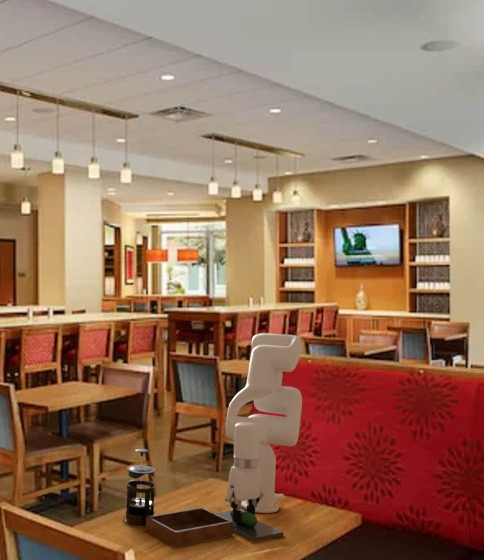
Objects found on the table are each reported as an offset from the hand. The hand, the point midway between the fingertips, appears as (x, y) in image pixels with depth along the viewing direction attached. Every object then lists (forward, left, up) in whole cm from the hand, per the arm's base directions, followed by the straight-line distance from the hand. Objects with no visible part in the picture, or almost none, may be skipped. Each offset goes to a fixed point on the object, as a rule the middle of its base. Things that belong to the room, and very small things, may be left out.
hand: (243, 520), depth 227 cm
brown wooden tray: (+19, -3, -3) cm, 19 cm away
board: (0, 0, -3) cm, 3 cm away
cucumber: (0, 0, -1) cm, 1 cm away
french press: (+27, -18, -3) cm, 33 cm away
